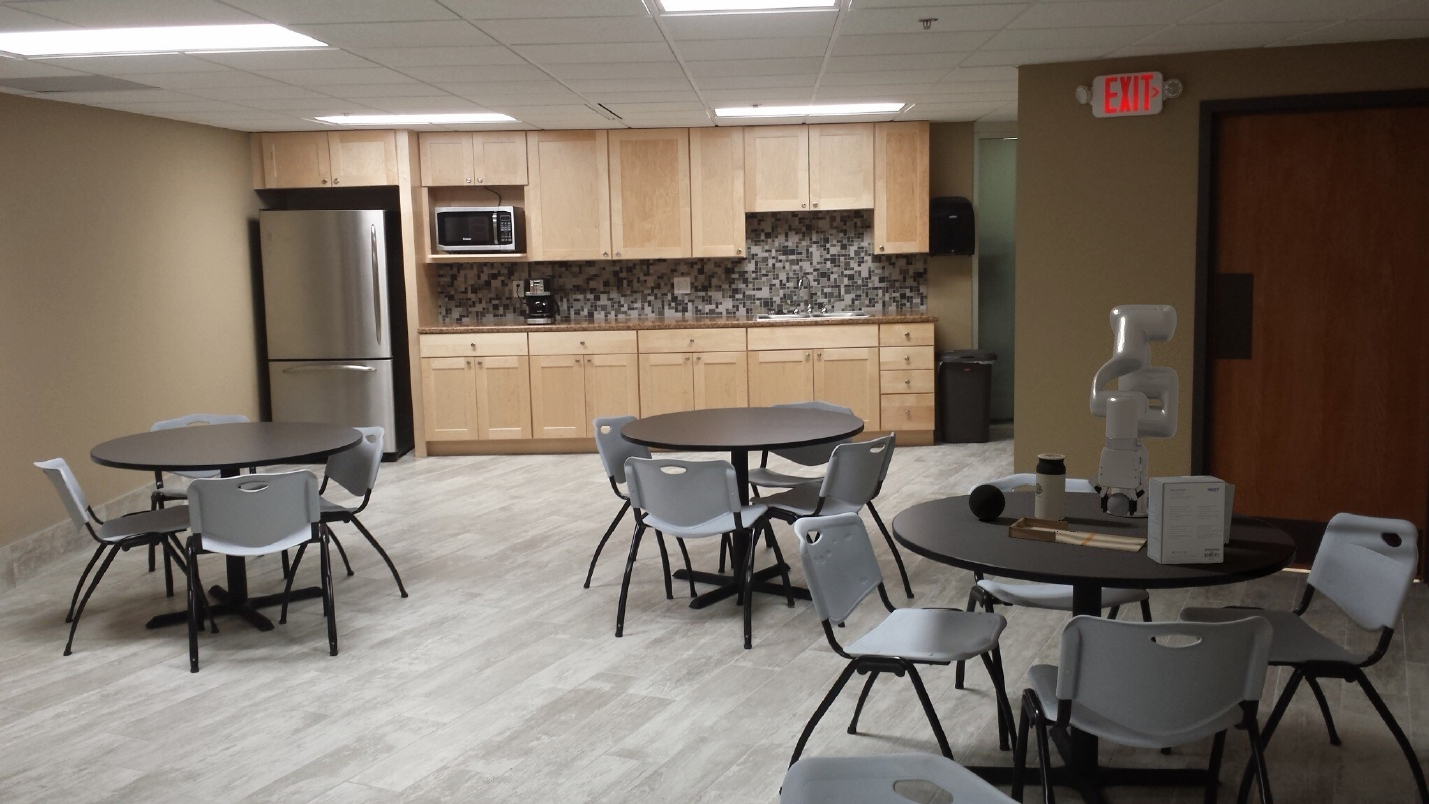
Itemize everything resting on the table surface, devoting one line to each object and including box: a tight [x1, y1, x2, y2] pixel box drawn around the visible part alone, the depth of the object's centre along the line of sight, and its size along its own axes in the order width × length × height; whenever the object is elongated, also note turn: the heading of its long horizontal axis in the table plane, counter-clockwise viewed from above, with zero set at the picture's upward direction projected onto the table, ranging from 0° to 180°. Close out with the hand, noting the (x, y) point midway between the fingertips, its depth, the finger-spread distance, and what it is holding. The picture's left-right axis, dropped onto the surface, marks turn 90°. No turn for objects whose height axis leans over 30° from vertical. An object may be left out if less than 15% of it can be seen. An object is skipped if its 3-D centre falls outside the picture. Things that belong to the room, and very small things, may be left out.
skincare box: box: [1223, 482, 1236, 545], centre depth 276 cm, size 8×7×16 cm
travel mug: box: [1034, 453, 1067, 521], centre depth 302 cm, size 8×8×18 cm
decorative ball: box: [968, 483, 1006, 521], centre depth 302 cm, size 10×10×10 cm
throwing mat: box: [1008, 516, 1148, 553], centre depth 280 cm, size 14×32×3 cm, turn 59°
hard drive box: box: [1147, 475, 1227, 565], centre depth 257 cm, size 16×8×20 cm, turn 92°
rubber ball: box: [1107, 493, 1130, 517], centre depth 274 cm, size 6×6×6 cm
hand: (1118, 512), depth 275 cm, fingers closed on rubber ball, 5 cm apart
